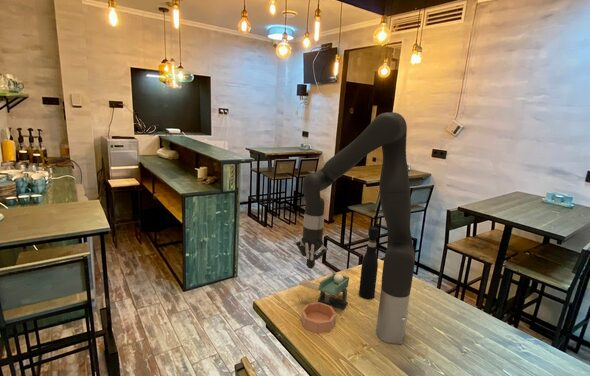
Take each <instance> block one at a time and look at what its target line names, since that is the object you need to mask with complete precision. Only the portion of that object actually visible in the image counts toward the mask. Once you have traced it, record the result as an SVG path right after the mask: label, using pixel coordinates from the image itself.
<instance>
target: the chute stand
mask: <svg viewBox="0 0 590 376" xmlns="http://www.w3.org/2000/svg"><path fill="white" fill-rule="evenodd" d="M319 291H320V290H319ZM341 293H342V296H341V298H337V297H336V296H335V297H334V296H333V295H332V296H331V295H330V294H327V293H326V292H323V291H320V293H319V297H318V299H317V302H320V303H323V304H326V305H329V306H331V307H332V308H334V309H338V310H341V311H345V309H346V308H347V307H348V304H349V301H348V300H347V299H348V298H347V297H348V289H347V288H346V289H344V290H343V292H341Z"/></svg>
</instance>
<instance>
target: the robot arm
mask: <svg viewBox="0 0 590 376" xmlns="http://www.w3.org/2000/svg"><path fill="white" fill-rule="evenodd" d="M407 128H408V127H407V122H406V119H405V118H404V117H403V116H402V115H401V114H400V113H398V112H393V111H391V112H382V113H380V114H378V115H377V116H376V117H375V118H374V119H373V120H372V121H371V122H370V123H369V124H368V126H367V127H366V128H365V129H364V130H363V131H362V132H360V134H359V135H358V136H357V137H356V138H355V139H353V141H351V142H350V143H349V144H348V145H346V146H345V147H344V148H342V149H341V150H340V151H339V152H337V153H336V154H335V155H333V156H332V157H331V158H329V159H328V160H326V162H324V165H323V167H322V168H320V169H319V170H318V171H315V172H310V173H308V174H307V175H305V176H304V179H303V182H302V189H303V197H304V200H305V206H304V215H303V223H302V224H303V226H302V237H301V240H298V241H297V242H296V243H295V244H296V246H297V248H298V250H299V252H300V254H301V255H302V257H305V258H306V267H307V269H310V270H312V269H313V268H314V267H315V265H316V261H318V260H319V259H320V258H321V257H322V256H323V255H324V254H325V253H326V252H327V251H329V247H326V246H324V241H323V238H324V223H325V200H324V198H321V191H325V190H326V189H328V188H329V187H330V186H332V185H333V183H335V182H336V181H337V179H339V178H341V177H342V176H343V175H345V174H347V173H348V172H349V171H351V170H352V169H353V168H354V167H356V165H357V164H358V163H359V162H361V161H362V159H363V158H365V157H366V156H368V155H369V154H371V153H372V152H373V151H375V150H378V149H379V148H380V147H381V151H382V165H381V170H380V177H379V185H378V187H379V198H380V199H379V200H380V206H381V210H382V211H381V212H382V215H383V218H384V220H385V224H386V230H387V241H386V242H387V243H386V244H387V245H386V251H385V254H384V257H383V263H382V271H381V273H382V275H381V285H380V287H381V288H380V296H379V304H378V311H377V312H378V313H377V318H376V320H377V321H376V326H375V327H376V329H375V333H376V336H377V338H379V339H380V340H381V341H382V342H385V343H386V344H387V343H388V344H396V345H397V344H399V345H403V342H404V338H405V336H406V330H407V323H408V316H409V304H410V303H409V302H410V296H411V290H412V285H413V284H412V283H413V278H414V270H415V264H416V263H415V261H416V254H415V248H414V244H413V243H414V242H413V238H412V231H411V213H412V210H411V209H412V208H411V205H412V202H411V200H412V199H411V187H410V186H411V185H410V177H409V169H408V168H409V167H408V164H407V162H408V160H407V136H408V135H407V134H408V133H407V131H408V129H407ZM319 249H320V250H319ZM318 251H320V252H319V253H318ZM317 253H318V254H317Z"/></svg>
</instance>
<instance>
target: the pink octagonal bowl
mask: <svg viewBox="0 0 590 376" xmlns="http://www.w3.org/2000/svg"><path fill="white" fill-rule="evenodd" d="M300 322H301V323H302V326H303V327H304V329H305V330H307V331H310V332H313V333H315V334H318V335H319V334H323V333H329V332H331V331H332V329H334V326H336V322H337V313H336V311H335V310H334V307H332V306H329V305H326V304H323V303H320V302H318V301H317V302H312V303H306V305H305V306H303V308H302V309H301V313H300Z"/></svg>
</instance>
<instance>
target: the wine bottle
mask: <svg viewBox="0 0 590 376" xmlns="http://www.w3.org/2000/svg"><path fill="white" fill-rule="evenodd" d="M379 230H380V229H379V227H377V226H373V225H372V226H369V227H368V234H367V236H368V237H369V239H368V241H367V245H366V251H365V253H364V255H363V259H362V261H361V268H360V270H361V271H360V278H359V287H358V295H359V297H360V298H362V299H364V300H372V299H375V293H376V285H377V277H378V267H379V262H378V256H377V248H378V247H377V238H378V237H379Z"/></svg>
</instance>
